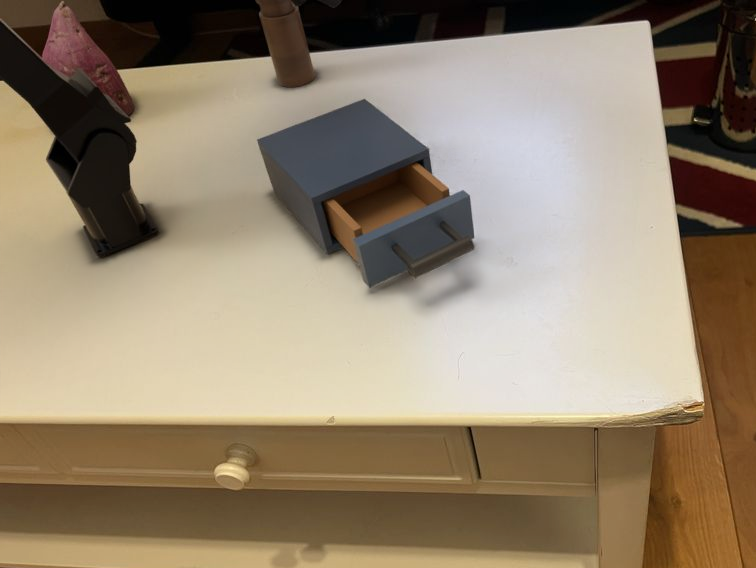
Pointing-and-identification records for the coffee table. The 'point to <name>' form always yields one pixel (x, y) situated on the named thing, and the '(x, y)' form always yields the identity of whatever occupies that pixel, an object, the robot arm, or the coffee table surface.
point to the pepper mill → (286, 42)
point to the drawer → (401, 224)
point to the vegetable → (83, 57)
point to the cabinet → (335, 160)
